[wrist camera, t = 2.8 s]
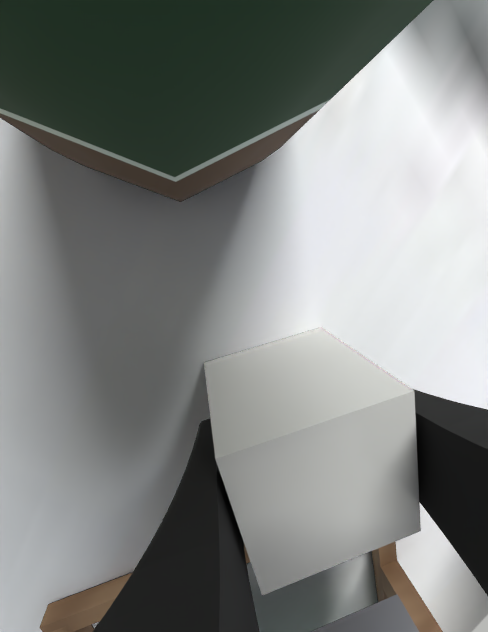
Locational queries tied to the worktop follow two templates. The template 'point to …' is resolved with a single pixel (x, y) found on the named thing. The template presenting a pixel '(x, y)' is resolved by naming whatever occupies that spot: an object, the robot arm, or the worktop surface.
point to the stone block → (313, 454)
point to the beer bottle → (181, 78)
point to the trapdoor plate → (375, 619)
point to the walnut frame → (91, 605)
